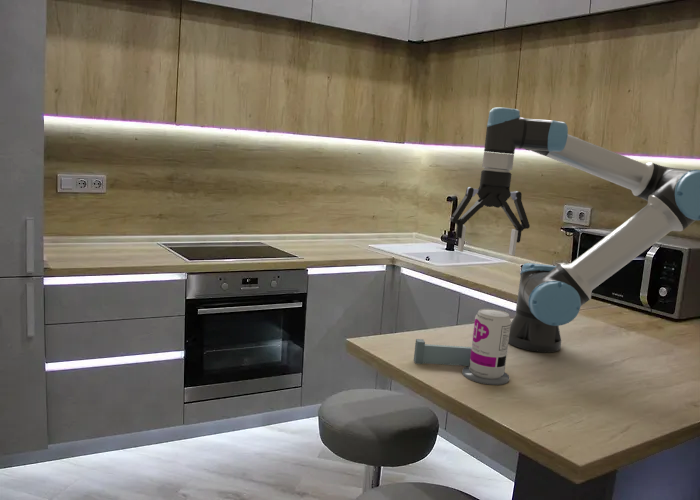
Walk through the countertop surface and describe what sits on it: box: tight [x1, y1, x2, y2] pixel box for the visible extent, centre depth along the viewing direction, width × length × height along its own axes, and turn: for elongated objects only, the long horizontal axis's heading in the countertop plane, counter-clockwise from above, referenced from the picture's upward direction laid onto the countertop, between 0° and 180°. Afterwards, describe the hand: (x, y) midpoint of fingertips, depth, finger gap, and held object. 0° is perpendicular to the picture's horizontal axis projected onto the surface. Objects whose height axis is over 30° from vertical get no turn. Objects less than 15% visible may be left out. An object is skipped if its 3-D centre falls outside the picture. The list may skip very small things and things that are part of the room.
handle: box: [413, 338, 472, 367], centre depth 159 cm, size 20×2×6 cm, turn 95°
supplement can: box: [469, 308, 512, 379], centre depth 152 cm, size 8×8×15 cm
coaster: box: [461, 366, 510, 386], centre depth 153 cm, size 11×11×1 cm
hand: (486, 252), depth 166 cm, fingers open, 13 cm apart
